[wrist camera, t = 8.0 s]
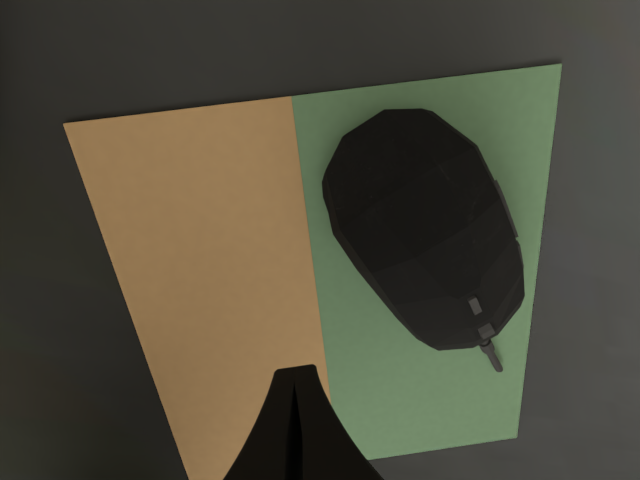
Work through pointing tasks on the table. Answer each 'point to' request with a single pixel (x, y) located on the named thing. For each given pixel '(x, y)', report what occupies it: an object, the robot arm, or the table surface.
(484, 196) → the gaming mouse
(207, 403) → the desk mat
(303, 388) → the robot arm
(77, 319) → the table surface
